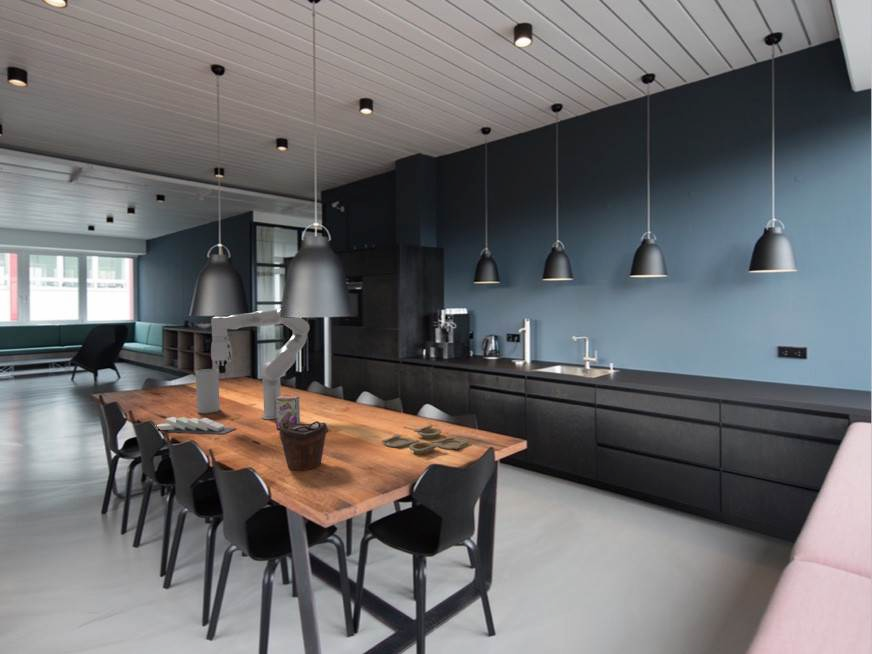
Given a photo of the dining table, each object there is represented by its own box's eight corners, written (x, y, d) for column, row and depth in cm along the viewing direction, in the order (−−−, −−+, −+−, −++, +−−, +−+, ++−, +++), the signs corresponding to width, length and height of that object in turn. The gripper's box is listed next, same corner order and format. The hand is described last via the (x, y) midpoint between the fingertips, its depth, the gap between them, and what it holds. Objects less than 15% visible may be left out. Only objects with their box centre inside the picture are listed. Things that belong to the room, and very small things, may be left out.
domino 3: (202, 424, 259) (183, 416, 261) (195, 427, 254) (176, 419, 256) (201, 428, 259) (182, 420, 261) (194, 430, 254) (175, 422, 256)
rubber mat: (236, 429, 257) (236, 428, 257) (224, 434, 248) (224, 433, 248) (181, 426, 265) (181, 425, 265) (167, 431, 255) (167, 431, 255)
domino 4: (214, 425, 257) (194, 417, 259) (207, 427, 252) (187, 419, 255) (213, 428, 257) (193, 421, 260) (206, 431, 253) (186, 423, 255)
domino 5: (224, 425, 256) (205, 417, 258) (218, 428, 251) (198, 419, 253) (223, 429, 256) (204, 421, 258) (217, 431, 251) (197, 423, 253)
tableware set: (376, 443, 228) (376, 434, 228) (426, 431, 246) (426, 423, 246) (424, 461, 201) (424, 452, 201) (475, 446, 220) (475, 437, 219)
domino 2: (191, 424, 260) (172, 416, 262) (185, 426, 255) (165, 418, 257) (190, 427, 260) (171, 420, 263) (184, 430, 255) (164, 422, 258)
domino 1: (180, 423, 262) (160, 423, 264) (173, 425, 257) (153, 426, 259) (180, 427, 262) (161, 427, 264) (173, 429, 257) (154, 429, 259)
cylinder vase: (214, 413, 294) (212, 371, 293) (193, 413, 295) (191, 372, 293) (223, 408, 307) (221, 368, 305) (203, 409, 307) (201, 369, 306)
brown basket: (339, 463, 200) (337, 419, 199) (296, 477, 185) (293, 430, 184) (314, 455, 212) (311, 413, 211) (271, 468, 197) (268, 423, 196)
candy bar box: (276, 429, 254) (274, 398, 253) (280, 427, 259) (278, 396, 258) (297, 429, 253) (295, 398, 252) (300, 427, 258) (299, 396, 257)
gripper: (236, 338, 271) (238, 371, 272) (211, 339, 273) (214, 372, 274) (228, 339, 263) (231, 373, 264) (203, 340, 266) (205, 374, 267)
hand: (222, 372), depth 269 cm, fingers closed
